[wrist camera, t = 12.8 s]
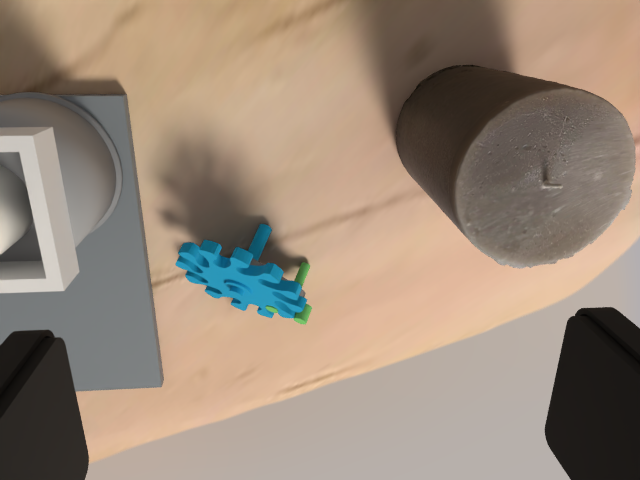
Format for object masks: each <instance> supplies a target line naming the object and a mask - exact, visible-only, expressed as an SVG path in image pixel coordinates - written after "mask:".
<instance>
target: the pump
mask: <svg viewBox="0 0 640 480" xmlns="http://www.w3.org/2000/svg"><path fill="white" fill-rule="evenodd" d="M33 220H34V219H33V214H32V209H31V205H30V200H29V195H28V190H27V187H26V185H25V184H24V183H23V181H22V180H21V179H20V178H19V177H18V176H17V175H15V174H14V173H13V172H11V171H10V170H8V169H7V168H5V167H3V166H1V165H0V255H1V254H2V253H3V252H5V251H6V250H7V249H8V248H9V247H11V246H12V245H13V244H14V243H15V242H17V241H18V240H19V239H20V238H22V237H23V236H24V235H25V234H26V233H27V232H28V230H29V229H30V227H31V225H32V223H33Z"/></svg>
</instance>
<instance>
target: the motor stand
mask: <svg viewBox="0 0 640 480" xmlns="http://www.w3.org/2000/svg"><path fill="white" fill-rule="evenodd" d="M0 165H1V166H3V167H5V168H7V169H8V170H10V171H11V172H13V173H14V174H15V175H17V176H18V177H19V178H20V179H21V180H22V181H23V183H24V184H25V185H26V187H27V190H28V195H29V200H30V205H31V209H32V214H33V219H34V220H33V223H32V225H31V227H30V229H29V230H28V232H27V233H26V234H25V235H24V236H23V237H22V238H20V239H19V240H18V241H17V242H15V243H14V244H13V245H12V246H11V247H9V248H8V249H7V250H6V251H5V252H3V253H2V254H1V255H0V345H1V344H2V343H3V342H4V340H5V339H6V338H7V337H8V336H9V335H10V334H11V333H12V332H13V331H25V330H50V331H52V332H53V334H54V336H55V337H61V338H63V340H64V342H65V345H66V349H67V354H68V359H69V364H70V369H71V373H72V378H73V383H74V388H75V391H93V390H113V389H134V388H154V387H162V384H163V381H164V377H163V369H162V362H161V354H160V346H159V339H158V331H157V323H156V316H155V308H154V300H153V293H152V285H151V277H150V270H149V262H148V254H147V247H146V239H145V231H144V224H143V216H142V208H141V201H140V193H139V185H138V178H137V170H136V162H135V154H134V147H133V139H132V131H131V124H130V116H129V108H128V101H127V94H89V95H52V94H46V93H41V92H20V93H15V94H10V95H0Z"/></svg>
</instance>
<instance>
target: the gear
mask: <svg viewBox="0 0 640 480" xmlns="http://www.w3.org/2000/svg"><path fill="white" fill-rule="evenodd" d="M271 231H272V229H271V227H269V226H268V225H265V224H260V225H259V228H258V230H257V232H256V234H255V236H254V238H253V241H252V243H251V245H250V247H249V249H248V251H246V250H244V249H242V248H240V247H236V248H235V249H234V251H233V253H232V256H231V258H226V257H223V256H221V255H220V254H219V253H220V251H221V249H222V247H221V245H220V244H218V243H216V242H213V241H209V240H204V241H203V243H202V245H201V247H199V246H198V245H196V244H194V243H191V242H188V243H183V245H182V247H181V249H180V251H179V252H178V254H179V255H180V256H179V258H178V260H177V262H176V266H178V267H180V268H182V269H185V270H188V271H187V273H186V275H185V276H186V278H187V279H188V280H189V281H190V282H192V283H195V284H203V285H207V287H206V289H205V292H207V293H208V294H209V295H211V296H212V297H214V298H220V297H231V298H233V300H232V302H231V305H233V306H234V307H236V308H238V309H241V310H243V311H245V310H246V309H247V306H248V304H254V305H257V306H259V308H258V310H257V313H258V314H260V315H263V316H266V317H270V318H272V317H273V315H274V313H278V314H279V315H280V316H282V317H285V318H294V320H295V321H296V322H298V323H300V324H306V323H307V320H308V317H309V315H310V312H311V309H312V307H311V306H310V305H308V304H306V302H307V299H306V298H304V296H305V292H304V291H303V290H302V286H303V283H304V280H305V278H306V275H307V273H308V270H309V268H310V265H309V264H307V263H304V262H302V263H301V266H300V268H299V271H298V273H297V276H296V278H295V281H288V280H287V279H285V278H283V277H282V275H283V273H284V272H283V270H282V269H281V268H279V267H278V266H277V265H276V264H274V263H267V264H265V265H263V264H262V263H260V262H259V261H258V260H259V258H260V255H261V253H262V251H263V249H264V246H265V244H266V242H267V240H268V237H269V235H270V233H271Z"/></svg>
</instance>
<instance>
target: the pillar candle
mask: <svg viewBox="0 0 640 480" xmlns="http://www.w3.org/2000/svg"><path fill="white" fill-rule="evenodd" d="M396 134H397V136H396V140H397V148H398V153H399V156H400V159H401V161H402V164H403V165H404V167H405V168H406V170H407V171H408V173H409V174H410V175H411V177H412V178H413V179H414V180H415V181H416V182H417V183H418V184H419V185H420V186H421V188H422V189H423V190H424V191H425V192H426V193H427V194H428V195H429V196H430V197H431V198H432V199H433V201H434V202H435V203H436V204H437V205H438V206H439V207H440V208H441V210H442V211H443V212H444V213H445V214H446V215H447V216H448V217H449V218H450V219H451V221H452V222H453V223H454V224H455V225H456V226H457V227H458V229H459V230H460V231H461V232H462V233H463V234H464V235H465V236H466V237H467V238H468V239H469V240H470V242H471V243H472V244H473V245H474V246H475V247H477V248H478V249H479V250H480V251H481V252H483V253H484V254H486V255H487V256H489V257H491V258H493V259H494V260H495V261H496V262H497V263H498V264H500V265H509V266H511V267H513V268H525V267H530V268H531V267H533V266H537V265H543V264H553V263H554V264H555V263H556V262H557V261H558V260H560V259H563V258H569V257H572V256H573V255H574V254H575V253H577V252H579V251H580V250H582V249H583V248H584V247H586V246H587V245H588V244H592V243H593V242H594V241H595V240H596V239H597V238H598V237H599V236H600V235H601V234H602V233H603V232H604V231H605V230H606V229H607V228H608V227H609V226H610V225H611V224H612V222H613V221H614V219H615V218H616V217H617V216H618V214H619V212H620V211H621V210H625V207H626V205H627V204H628V203H629V200H630V198H631V193H632V190H631V189H630V188H631V184H632V181H633V176H634V173H635V163H636V162H635V160H636V159H635V143H634V140H633V137H632V133H631V131H630V128H629V126H628V123H627V121H626V119H625V118H624V116H623V115H622V114H621V113H620V112H619V111H618V110H617V109H616V108H615V107H614V106H613V105H612V104H611V103H609V102H608V101H606V100H605V99H603V98H601V97H599V96H597V95H595V94H593V93H590V92H588V91H585V90H582V89H578V88H574V87H570V86H567V85H564V84H559V83H557V82H551V81H546V80H542V79H537V78H533V77H527V76H523V75H519V74H515V73H511V72H505V71H498V70H494V69H488V68H484V67H480V66H475V65H463V66H461V65H459V66H458V65H456V66H452V67H448V68H445V69H442V70H440V71H437V72H436V73H434V74H432V75H430V76H429V77H427V78H426V79H424V80H423V81H422V82H420V83H419V84H418V86H417V87H416V90H415V91H414V92H413V93H412V94H411V97H410V98H409V99H407V101H406V102H405V104H404V106H403V108H402V111H401V113H400V116H399V119H398V124H397V132H396Z"/></svg>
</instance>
